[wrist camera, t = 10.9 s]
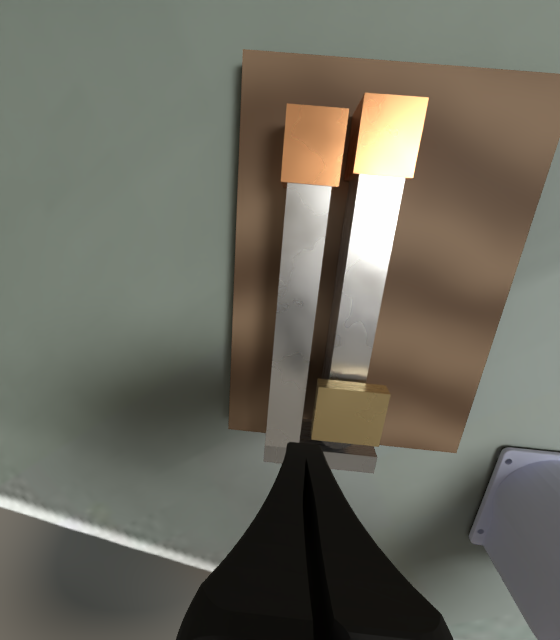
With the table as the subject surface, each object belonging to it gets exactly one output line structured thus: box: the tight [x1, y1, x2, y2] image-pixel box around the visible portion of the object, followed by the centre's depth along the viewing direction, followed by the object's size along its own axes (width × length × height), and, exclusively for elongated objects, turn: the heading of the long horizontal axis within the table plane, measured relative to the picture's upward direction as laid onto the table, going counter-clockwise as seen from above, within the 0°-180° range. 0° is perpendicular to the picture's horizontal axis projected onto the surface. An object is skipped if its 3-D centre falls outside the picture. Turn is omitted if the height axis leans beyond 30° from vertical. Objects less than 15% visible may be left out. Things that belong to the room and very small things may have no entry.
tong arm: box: [322, 93, 429, 449], centre depth 17 cm, size 18×3×3 cm, turn 175°
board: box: [228, 49, 560, 453], centre depth 19 cm, size 22×16×2 cm
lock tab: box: [311, 378, 391, 447], centre depth 16 cm, size 3×4×1 cm
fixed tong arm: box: [264, 103, 377, 473], centre depth 17 cm, size 19×7×3 cm, turn 175°
